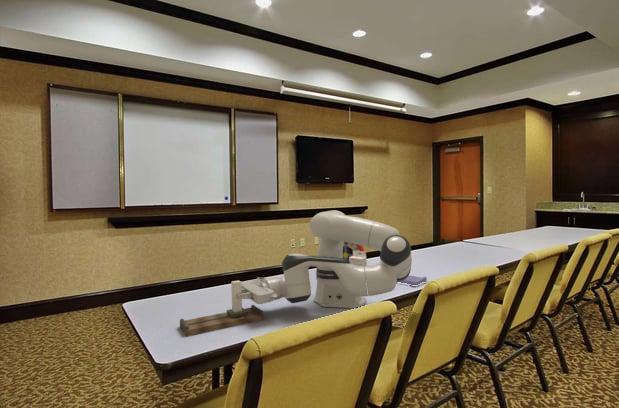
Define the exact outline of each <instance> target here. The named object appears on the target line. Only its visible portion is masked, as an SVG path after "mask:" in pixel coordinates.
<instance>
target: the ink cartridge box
mask: <svg viewBox="0 0 619 408" xmlns="http://www.w3.org/2000/svg"><path fill="white" fill-rule="evenodd" d="M357 253H362V254H357ZM349 261H350V262H351V264H353V265H356V266H364V269H365V266H368V265H367V263H368V262H367V261H368V259H367V251H364V252H363V251H353V256H351V257H349ZM365 277H366V274H365Z"/></svg>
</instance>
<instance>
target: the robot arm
mask: <svg viewBox="0 0 619 408" xmlns="http://www.w3.org/2000/svg"><path fill="white" fill-rule="evenodd" d="M308 227H309V230H310V232H311V234H312V236H314V237H316V238H319V239H320V241H319V245H318V247H317V249H316V255H309V254H308V255H306V254H303V253H297V252H296V253H295V252H294V253H289V254H287V255H286V256H285V257H284V258H283V260H282V262H281V267H282V272H283V275H282V276H272V277H263V276H262V277H261V276H260V277H256V279H250V280H245V281H241V289H242V293H239V294H237V298H238V299H242V300H251V301H252V302H253V303H255V304H256V305H263V304H267V303H272V302H274V301H277V300H280V299H282V298H285V300H287V301H288V302H289V303H290V304H297V303H302V302H306V301H308V300H309V298H311V295H312V288H311V281H310V272H309V271H310V269H309V268H310V267H316V272H315V273H316V274H315V277H316V289H315V295H314V299H313V301H314V302H315V303H316V304H318V305H319V306H321V307H325V308H326V307H327V308H341V309H343V308H344V309H345V308H346V309H357V308H356V307H359V308H361V307H360V306H362V307H363V306H365V304H366V303H367V298H366V297H374V296H379V295H383V294H384V295H385V294H387V293H390V292H392V291H394V290H395V288H396V286H397V284H398V283H397V282H400V281H403V280H405V279H406V278H407V277H408V275H409V276H410V275H411V274H410V273H411V270H412V263H413V262H412V260H413V259H412V258H413V257H412V247H411V243H410V241H409V240H408V239H407V238H406V237H405V236H402V235H401V234H400V232H399V230H398V229H397V228H395V227H393V226H391V225H388V224H386V223H383V222H380V221H376V220H370V219H366V218H363V217H358V216H351V215H346V214H345V213H343V212H342V211H339V210H335V209H334V210H332V209H331V210H327V211H321V212H319V213H316V214H314V216H313V217H312V218H311V219H310V221H309V226H308ZM344 242H349V243H354V244H358V245H362V247H365V248H369V249H374V250H377V251H379V252H380V254H379V259H380V261H379V262H378V263H376V264H373V265H367V266H365V269H364V266H356V265H353V264H351V262H350V261H349V260H347V259H343V244H344ZM365 274H366V277H365Z"/></svg>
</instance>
